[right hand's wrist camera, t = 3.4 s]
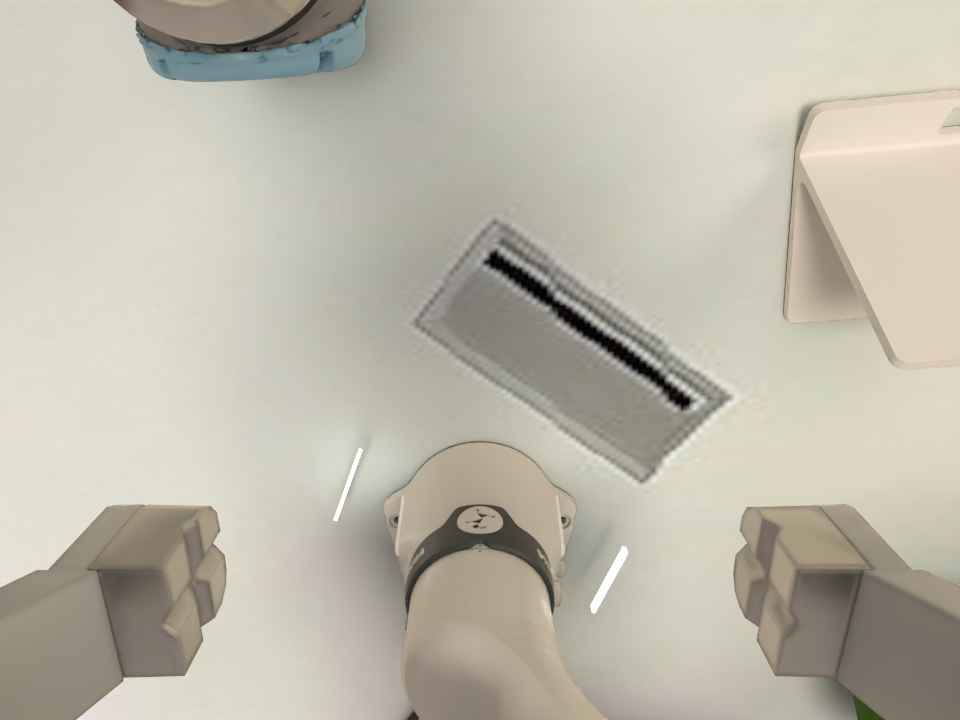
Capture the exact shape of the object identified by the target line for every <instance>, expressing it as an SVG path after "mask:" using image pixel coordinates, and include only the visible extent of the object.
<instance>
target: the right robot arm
mask: <svg viewBox="0 0 960 720" xmlns="http://www.w3.org/2000/svg"><path fill="white" fill-rule="evenodd" d="M361 452H362V449H359V450H358V453H357V456H356V459H355V462H354V464H353V467H352V470H351V473H350V476H349V478H348V481H347V484H346V487H345V490H344V492H343V495H342V498H341V501H340V504H339V506H338V509H337V512H336V515H335V518H334V520H335V521H337V519H338V516H339V514H340V511H341V508H342V505H343V502H344V500H345V497H346V494H347V491H348V488H349V486H350V483H351V480H352V477H353V475H354V472H355V469H356V466H357V463H358V461H359V458H360V455H361ZM384 516H385V519H386V523H387V526H388V529H389V533H390V536H391V540H392V543H393V546H394V550H395V554H396V557H397V560H398V564H399V567H400V570H401V574H402V577H403V581H404V584H405V592H406V597H405V605H406V611H407V622H406V629H405V630H406V635H405V642H404V649H403V657H402V664H401V677H402V684H403V688H404V691H405V694H406V697H407V699H408V701H409V703H410V705H411V706H412V708H413V710H414V713H413V714H412V716H411V717H410V718H409V719H408V720H418V719H420V720H608V719H607V718H606V717H605V716H604V715H603V714H602V713H601V712H599V711H598V710H597V709H596V708H595V707H594V706H593V704H592V703H591V702H590V701H589V700H588V699H587V698H586V697H585V696H584V695H583V693H582V692H581V691H580V690H579V688H578V687H577V686H576V684H575V683H574V681H573V680H572V678H571V677H570V675H569V674H568V672H567V670H566V668H565V666H564V663H563V661H562V657H561V654H560V650H559V646H558V642H557V638H556V634H555V629H554V624H553V619H552V615H553V611H554V607H557V606H559V605H560V603H561V597H562V585H561V583H559V582H557V577H563V575H564V571H565V563H564V562H563V561H562V560H563V557H564V554H565V550H566V547H567V543H568V540H569V536H570V533H571V529H572V526H573V523H574V519H575V516H576V502H575V500H574V499H573V498H572V497H571V496H570V495H568V494H567V493H565V492H563V491H562V490H560V489H558V488H556V487H555V486H553V485H552V484H551V483H550V481H549V480H548V479H547V477H546V476H545V475H544V473H543V472H542V470H541V469H540V468H539V467H538V466H537V465H536V464H535V463H534V462H533V461H532V460H531V459H529V458H528V457H527V456H525V455H524V454H522V453H520V452H518V451H516V450H514V449H512V448H509V447H507V446H503V445H499V444H494V443H486V442H474V443H466V444H461V445H457V446H454V447H451V448H448V449H446V450H444V451H442V452H440V453H438V454H436V455H435V456H433V457H432V458H431V459H429V460H428V461H427V462H426V463H425V464H424V465H423V466H422V467H421V468H420V469H419V470H418V472H417V473H416V475H415V476H414V477H413V479H412V480H411V481H410V483H409V484H408V485H407V486H405V487H404V488H402V489H400V490H398V491H397V492H395V493H393V494H392V495H390V496H389V497H388V498H387V499H386V500H385V502H384ZM395 517H399V520H398V519H396V518H395ZM561 517H565V518H564V519H563V520H561ZM219 532H220V527H219V522H218V517H217V512H216V511H215V510H214V509H213V508H212V507H211V506H178V505H113V506H109V507H107V508H106V509H105V510H104V511H103V512H102V513H101V514H100V515H99V516H98V517H97V518H96V519H95V520H94V521H93V522H92V523H91V525H90V526H89V527H88V528H87V529H86V530H85V531H84V532H83V533H82V534H81V535H80V536H79V537H78V538H77V540H76V541H75V542H74V543H73V544H72V545H71V546H70V547H69V548H68V549H67V550H66V551H65V552H64V553H63V555H62V556H61V557H60V558H59V559H58V560H57V561H56V562H55V563H54V564H53V565H52V566H51V567H50V568H49V569H48V570H36V571H34V572H32V573H30V574H28V575H26V576H24V577H22V578H20V579H18V580H15V581H13V582H11V583H9V584H7V585H5V586H3V587H1V588H0V720H76V719H77V718H78V717H80V716H81V715H82V714H83V713H85V712H86V711H87V710H88V709H89V708H91V707H92V706H93V705H94V704H96V703H97V702H98V701H99V700H100V699H102V698H103V697H104V696H105V695H107V694H108V693H109V692H110V691H112V690H113V689H114V688H115V687H116V686H118V685H119V684H120V683H121V682H123V678H125V677H160V676H185V674H186V672H187V670H188V668H189V666H190V664H191V663H192V661H193V659H194V657H195V655H196V653H197V651H198V649H199V647H200V645H201V643H202V641H203V636H202V630H201V627H202V626H203V625H205V624H206V623H208V622H209V621H211V620H212V619H214V618H215V616H216V614H217V612H218V610H219V608H220V606H221V604H222V600H223V596H224V591H225V587H226V563H225V556H224V554H223V553H222V552H221V551H220V550H219V549H218V548H217V547H216V546H215V545H214V544H213V542H214V540H215V538H216V537H217V535H218V533H219ZM740 532H741V533H742V535H743V537H744V538H745V540H746V542H747V544H746V545H745V546H744V547H743V548H742V549H741V550H740V551H739V552H738V553H737V554H736V557H735V565H734V573H733V575H734V586H735V593H736V597H737V600H738V603H739V606H740V608H741V610H742V612H743V614H744V616H745V618H746V619H748V620H749V621H751V622H752V623H754V624H755V625H757V626H758V627H759V630H758V636H757V642H758V643H759V645H760V647H761V649H762V651H763V653H764V655H765V657H766V659H767V661H768V662H769V664H770V666H771V668H772V670H773V672H774V674H775V676H799V677H835V678H837V681H838V682H839V683H840V684H841V685H843V686H844V687H845V688H846V689H848V690H849V691H850V692H851V693H852V694H854V695H855V696H856V697H857V698H859V699H860V700H861V701H862V702H863V703H865V704H866V705H867V706H868V707H870V708H871V709H872V710H873V711H874V712H876V713H877V714H878V715H879V716H881V717H882V718H883V719H884V720H960V588H959V587H957V586H955V585H953V584H951V583H949V582H947V581H944V580H942V579H940V578H938V577H936V576H934V575H932V574H930V573H928V572H926V571H924V570H912V569H911V568H910V567H909V566H908V565H907V564H906V563H905V562H904V561H903V560H902V559H901V558H900V557H899V556H898V554H897V553H896V552H895V551H894V550H893V549H892V548H891V547H890V546H889V545H888V544H887V543H886V542H885V541H884V539H883V538H882V537H881V536H880V535H879V534H878V533H877V532H876V531H875V530H874V529H873V528H872V527H871V526H870V524H869V523H868V522H867V521H866V520H865V519H864V518H863V517H862V516H861V515H860V514H859V513H858V512H857V511H856V509H855V508H853V507H851V506H848V505H846V504H838V505H813V506H780V507H747V508H746V510H745V512H744V514H743V516H742V521H741V526H740ZM627 554H628V552H627V549H626V547H622V549H621V551H620V553H619V554H618V556H617V558H616V560H615V562H614V564H613V565H612V567H611V569H610V571H609V573H608V574H607V576H606V578H605V580H604V582H603V584H602V585H601V587H600V589H599V591H598V593H597V595H596V596H595V598H594V600H593V602H592V604H591V610H592V612H593V613H595V612H596V610H597V608H598V607H599V605H600V603H601V601H602V599H603V597H604V596H605V594H606V592H607V590H608V588H609V587H610V585H611V583H612V581H613V579H614V578H615V576H616V574H617V572H618V570H619V569H620V567H621V565H622V563H623V561H624V560H625V558H626V556H627Z"/></svg>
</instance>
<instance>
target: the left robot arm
mask: <svg viewBox="0 0 960 720" xmlns="http://www.w3.org/2000/svg"><path fill="white" fill-rule="evenodd" d="M114 1H115V2H116V3H117V4H119V5H120V6H121V7H122V8H123V9H125V10H126V11H127V12H128V13H130V14H131V15H133V16H134V17H136V18H137V20H136V30H137V32H138V33H137V34H136V35H137V37H138V38H139V41H140V43H141V44H142V45H143V48H144V51H145V54H146V57H147V60H148V63H149V64H150V66H151V67H152V69H153V70H154V71H155V72H156V73H157V74H158V75H160V76H162V77H164V78H167V79H171V80H183V81H191V82H217V81H242V80H257V79H272V78H283V77H293V76H302V75H307V74H311V73H316V72H322V71H325V72H329V71H335V70H340V69H344V68H347V67H349V66H351V65H353V64H355V63H356V62H357V61H358V60H359V59H360V58H361V57H362V55H363V52H364V50H365V45H366V36H365V18H366V15H367V2H366V0H114Z"/></svg>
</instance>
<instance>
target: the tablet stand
mask: <svg viewBox="0 0 960 720" xmlns="http://www.w3.org/2000/svg"><path fill="white" fill-rule="evenodd" d="M956 107H960V89H959V90H949V91H939V92H928V93H918V94H908V95H897V96H887V97H877V98H866V99H856V100H846V101H835V102H825V103H820V104H817V105H816V106H814V107H813V108H812V109H811V110H810V112H809V114H808V117H807V120H806V123H805V125H804V128H803V131H802V134H801V136H800V139H799V142H798V144H797V147H796V151H795V165H794V179H793V192H792V206H791V220H790V233H789V247H788V261H787V274H786V288H785V302H784V317H785V318H786V319H787V320H789V321H790V322H792V323H795V324H797V323H809V322H820V321H832V320H844V319H855V318H867V317H868V318H869V320H870V322H871V324H872V326H873V328H874V330H875V332H876V335H877V337H878V339H879V341H880V343H881V345H882V347H883V349H884V351H885V353H886V356H887V358H888V360H889V362H890V363H891V364H892V365H893V366H894V367H896V368H898V369H902V370H912V369H924V368H936V367H948V366H960V126H951V127H942V125H943V123H944V122H945V120H946V118H947V117H948V115H949V113H950V112H951V110H953V109H954V108H956Z"/></svg>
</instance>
